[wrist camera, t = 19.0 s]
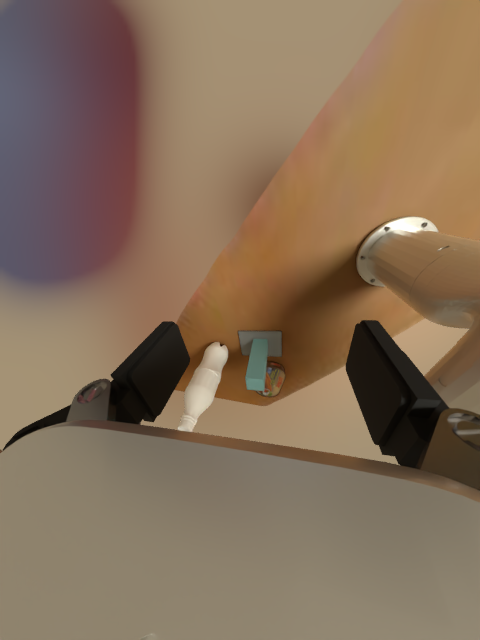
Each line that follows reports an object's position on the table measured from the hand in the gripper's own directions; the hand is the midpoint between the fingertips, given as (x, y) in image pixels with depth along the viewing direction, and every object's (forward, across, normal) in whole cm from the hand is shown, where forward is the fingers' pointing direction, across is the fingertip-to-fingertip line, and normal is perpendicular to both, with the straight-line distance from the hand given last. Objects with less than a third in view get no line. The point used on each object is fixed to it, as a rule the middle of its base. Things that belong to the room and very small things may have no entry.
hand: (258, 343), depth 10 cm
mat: (+33, +5, +28) cm, 44 cm away
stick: (+33, +5, +28) cm, 43 cm away
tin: (+32, +7, +41) cm, 53 cm away
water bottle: (+34, +18, +30) cm, 49 cm away
